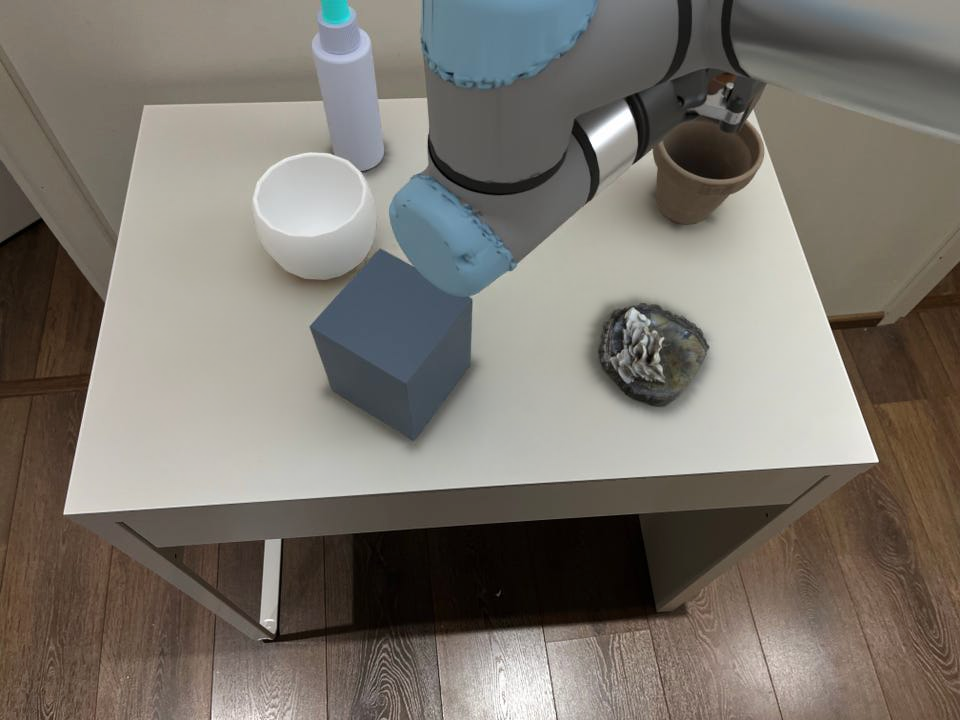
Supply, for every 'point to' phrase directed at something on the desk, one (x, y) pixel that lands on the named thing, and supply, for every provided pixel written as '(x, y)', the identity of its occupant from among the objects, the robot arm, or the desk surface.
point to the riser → (394, 343)
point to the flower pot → (704, 168)
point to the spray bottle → (348, 85)
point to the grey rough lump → (651, 352)
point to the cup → (315, 215)
